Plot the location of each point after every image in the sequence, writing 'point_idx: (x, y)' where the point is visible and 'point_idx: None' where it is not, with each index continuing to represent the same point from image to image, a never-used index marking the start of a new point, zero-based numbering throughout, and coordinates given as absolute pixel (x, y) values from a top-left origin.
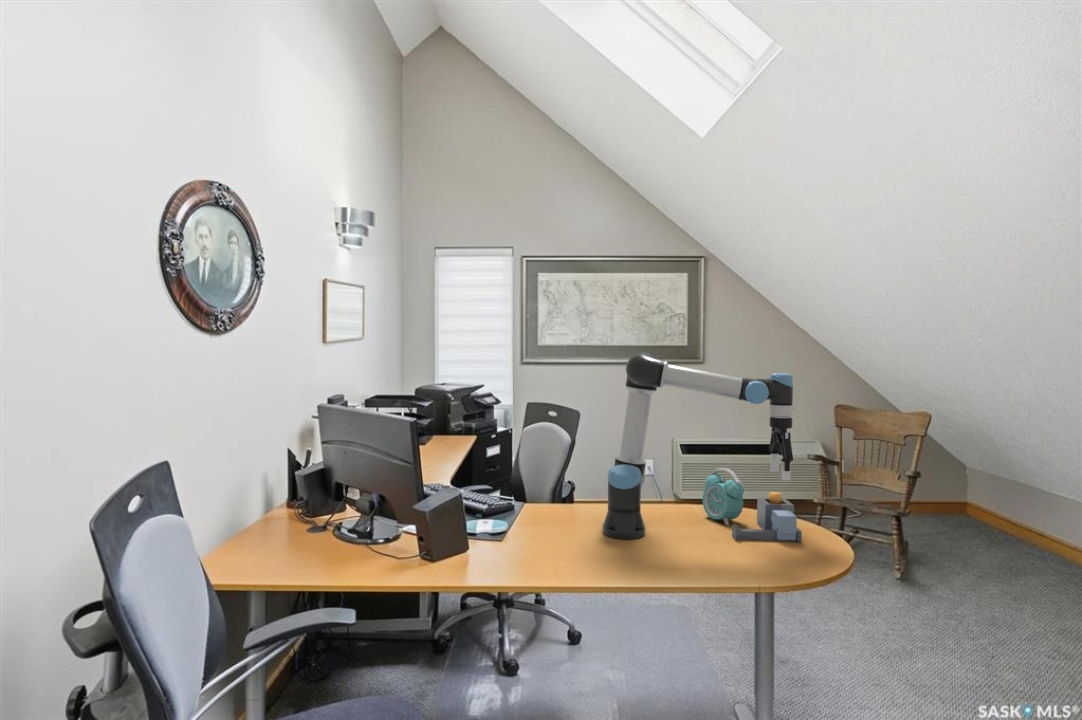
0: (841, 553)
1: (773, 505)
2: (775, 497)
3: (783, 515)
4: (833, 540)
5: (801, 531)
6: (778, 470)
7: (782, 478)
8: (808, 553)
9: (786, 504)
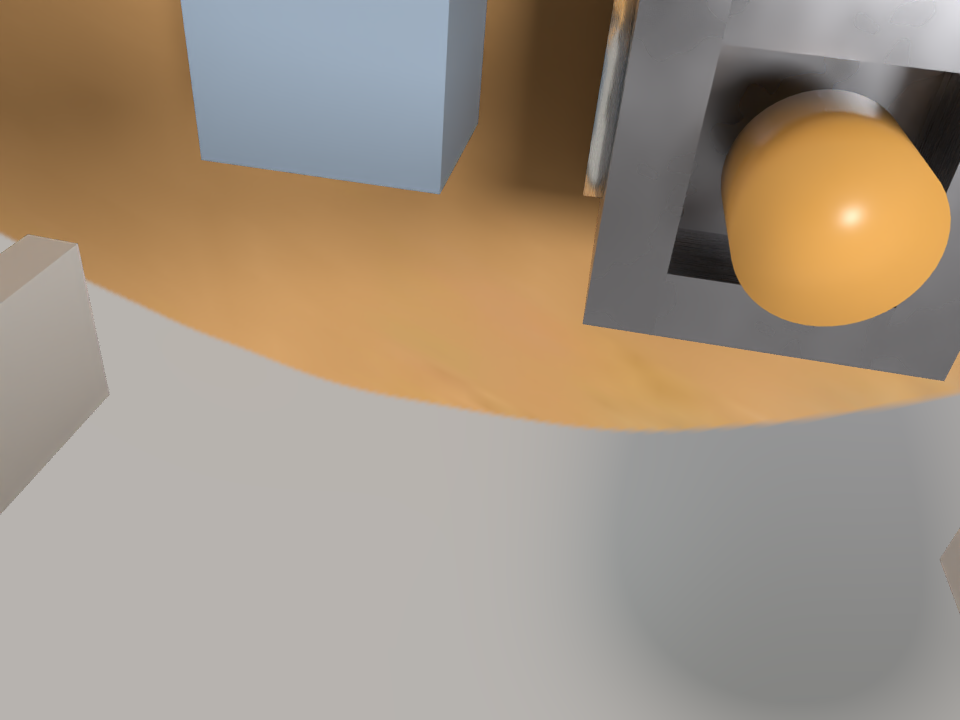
0: (149, 292)
1: (628, 67)
2: (742, 181)
3: (209, 10)
4: (415, 383)
5: None
6: (949, 581)
7: (4, 256)
8: (83, 55)
9: (634, 259)
